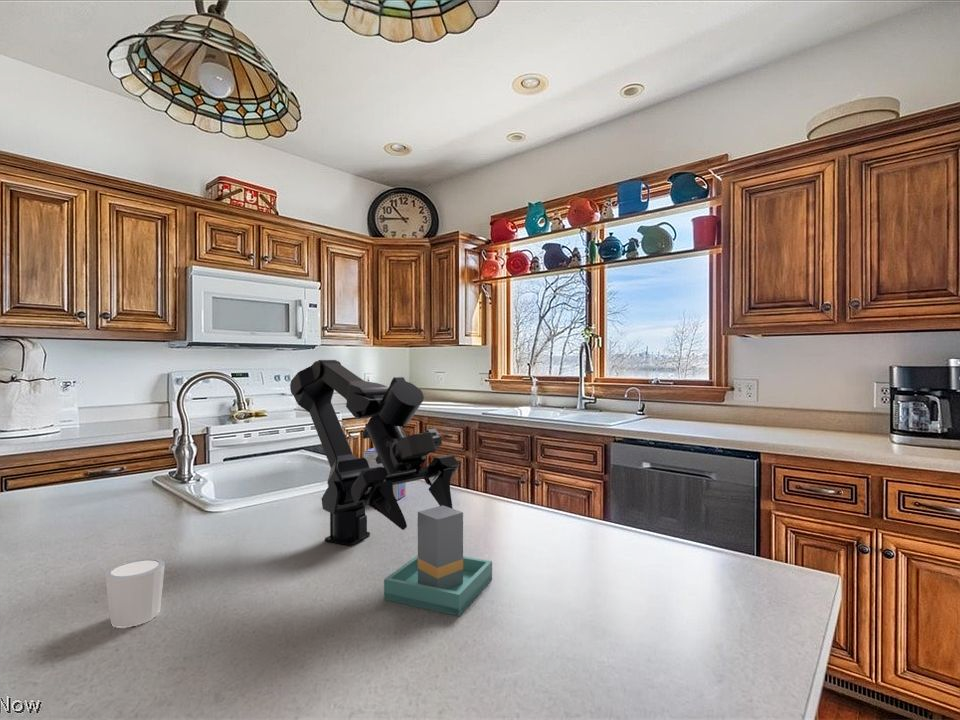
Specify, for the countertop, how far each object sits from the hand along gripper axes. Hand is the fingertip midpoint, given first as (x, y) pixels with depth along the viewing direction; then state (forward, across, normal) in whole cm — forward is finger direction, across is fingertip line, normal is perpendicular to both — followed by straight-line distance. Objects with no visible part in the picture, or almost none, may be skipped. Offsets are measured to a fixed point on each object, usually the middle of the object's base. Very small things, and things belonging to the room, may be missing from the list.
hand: (428, 521), depth 80 cm
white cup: (-6, -36, +21) cm, 42 cm away
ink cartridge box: (-26, +22, +41) cm, 53 cm away
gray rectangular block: (+8, 0, +4) cm, 9 cm away
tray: (+9, 0, +5) cm, 10 cm away
